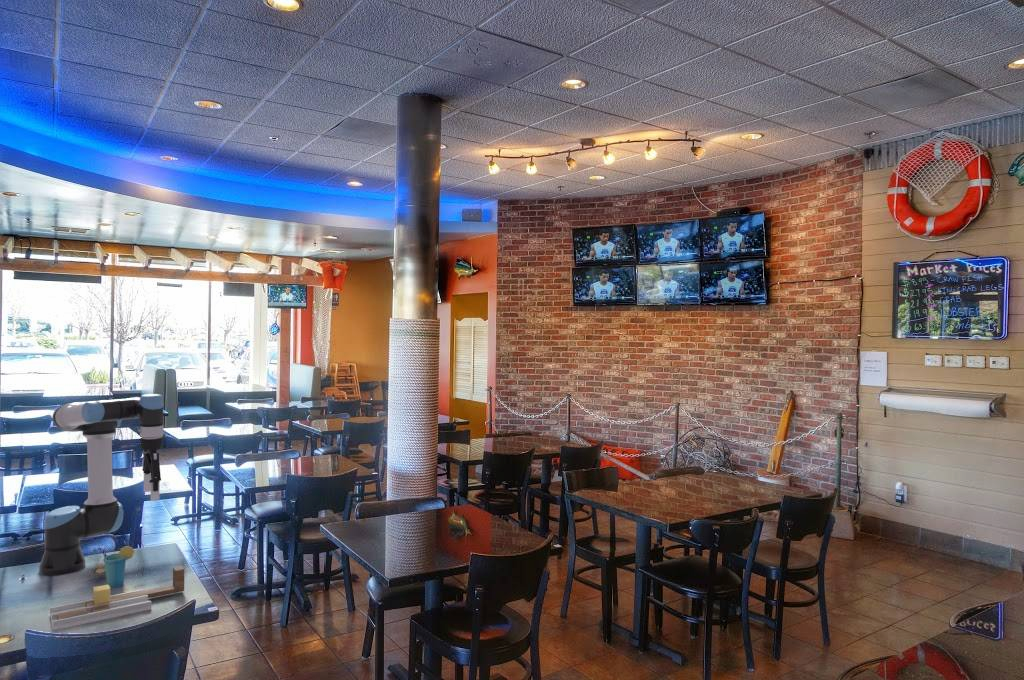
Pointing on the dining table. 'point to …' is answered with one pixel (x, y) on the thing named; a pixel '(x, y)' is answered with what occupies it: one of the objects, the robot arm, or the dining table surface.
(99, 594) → the cube
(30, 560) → the dining table surface
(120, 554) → the cup
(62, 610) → the lane board
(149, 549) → the dining table surface
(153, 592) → the strip
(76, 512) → the robot arm
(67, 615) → the broken strip
